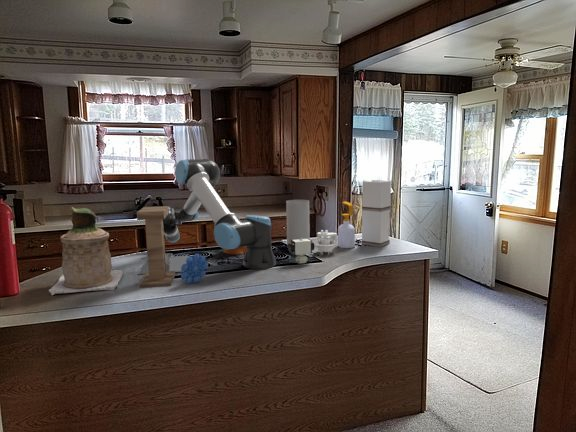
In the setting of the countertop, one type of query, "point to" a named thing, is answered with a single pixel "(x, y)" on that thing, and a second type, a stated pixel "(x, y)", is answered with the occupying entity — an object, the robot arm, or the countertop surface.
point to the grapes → (194, 268)
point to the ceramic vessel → (236, 250)
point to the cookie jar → (86, 257)
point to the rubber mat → (175, 265)
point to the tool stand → (155, 247)
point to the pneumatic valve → (301, 249)
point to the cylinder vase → (297, 220)
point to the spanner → (168, 260)
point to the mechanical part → (326, 241)
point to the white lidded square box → (376, 212)
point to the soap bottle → (346, 230)
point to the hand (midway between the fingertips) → (162, 211)
